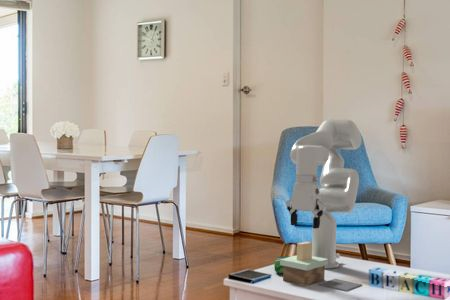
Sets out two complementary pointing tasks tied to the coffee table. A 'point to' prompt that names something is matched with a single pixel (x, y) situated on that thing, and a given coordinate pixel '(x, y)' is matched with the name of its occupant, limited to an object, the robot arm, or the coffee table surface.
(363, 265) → the coffee table surface
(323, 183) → the robot arm
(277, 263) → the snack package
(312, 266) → the lid
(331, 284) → the mat
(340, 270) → the coffee table surface
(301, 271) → the box
